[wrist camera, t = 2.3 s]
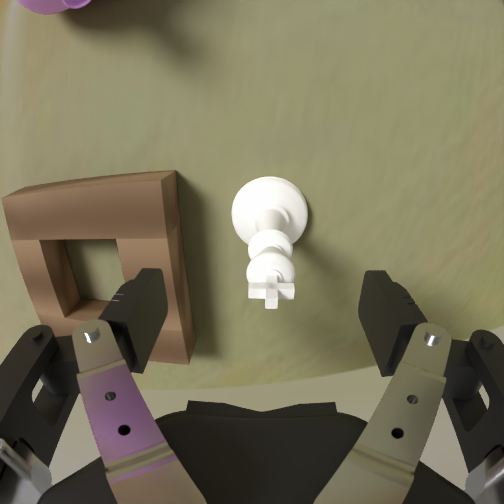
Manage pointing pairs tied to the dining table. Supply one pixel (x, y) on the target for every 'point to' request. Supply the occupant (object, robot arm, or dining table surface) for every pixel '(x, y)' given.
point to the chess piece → (270, 235)
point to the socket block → (103, 227)
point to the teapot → (52, 5)
